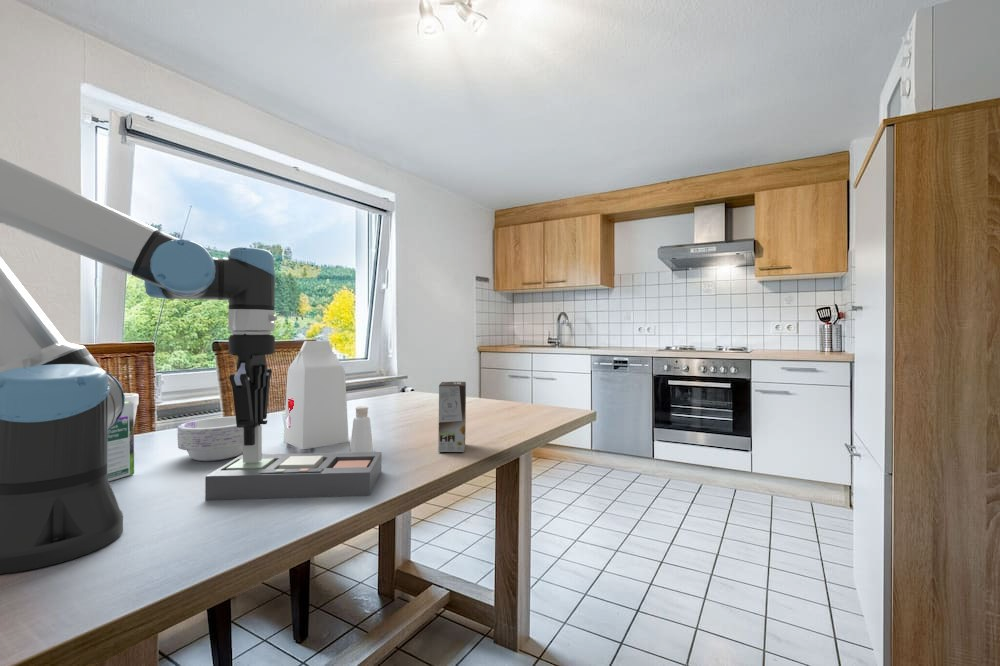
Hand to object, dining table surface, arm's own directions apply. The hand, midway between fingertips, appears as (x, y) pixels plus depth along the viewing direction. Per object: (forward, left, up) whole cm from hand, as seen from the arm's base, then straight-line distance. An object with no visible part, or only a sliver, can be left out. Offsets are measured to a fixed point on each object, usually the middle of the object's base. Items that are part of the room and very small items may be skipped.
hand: (252, 461), depth 86 cm
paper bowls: (+22, +16, -5) cm, 28 cm away
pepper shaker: (+21, -16, -5) cm, 27 cm away
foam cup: (+28, +42, -5) cm, 51 cm away
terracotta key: (0, -18, -3) cm, 18 cm away
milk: (+35, -2, -5) cm, 35 cm away
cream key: (0, -9, -2) cm, 9 cm away
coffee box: (+25, -37, -5) cm, 45 cm away
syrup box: (+7, +29, -5) cm, 30 cm away
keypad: (0, -9, -4) cm, 10 cm away
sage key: (0, 0, -3) cm, 3 cm away
